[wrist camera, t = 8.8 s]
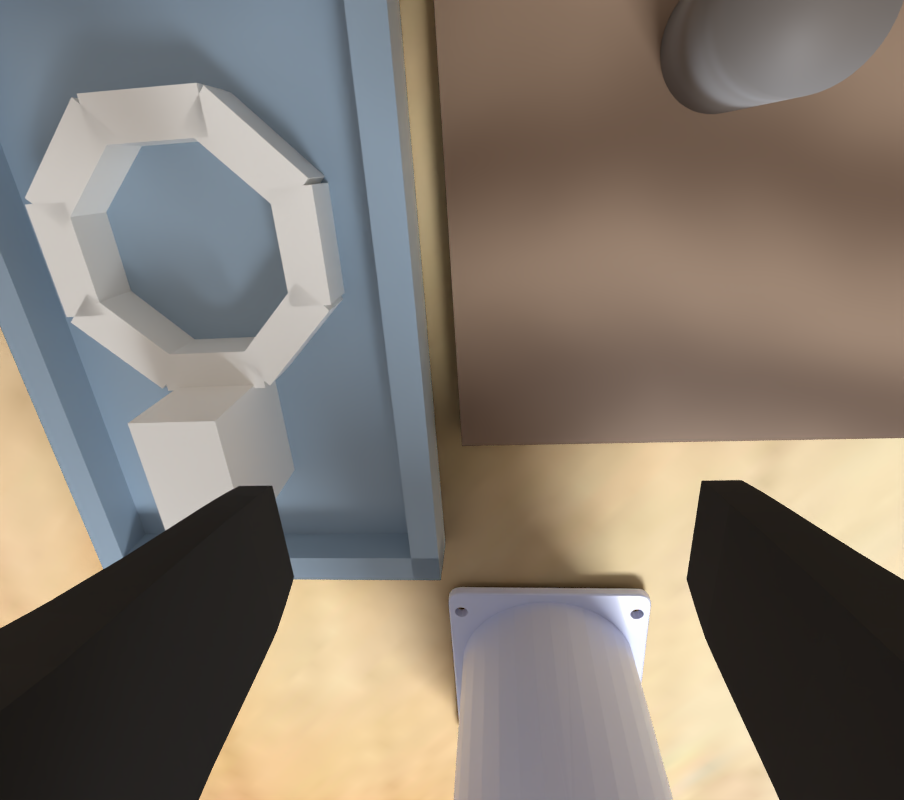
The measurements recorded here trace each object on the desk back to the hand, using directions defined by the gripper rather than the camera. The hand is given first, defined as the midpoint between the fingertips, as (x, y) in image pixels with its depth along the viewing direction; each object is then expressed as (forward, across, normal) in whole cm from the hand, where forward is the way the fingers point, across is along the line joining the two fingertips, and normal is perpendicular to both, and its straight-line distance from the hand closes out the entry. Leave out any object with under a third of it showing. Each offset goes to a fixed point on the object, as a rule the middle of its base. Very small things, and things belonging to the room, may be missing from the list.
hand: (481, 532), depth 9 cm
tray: (+9, +8, -2) cm, 13 cm away
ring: (+9, +9, -2) cm, 12 cm away
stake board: (+9, -6, -5) cm, 12 cm away
